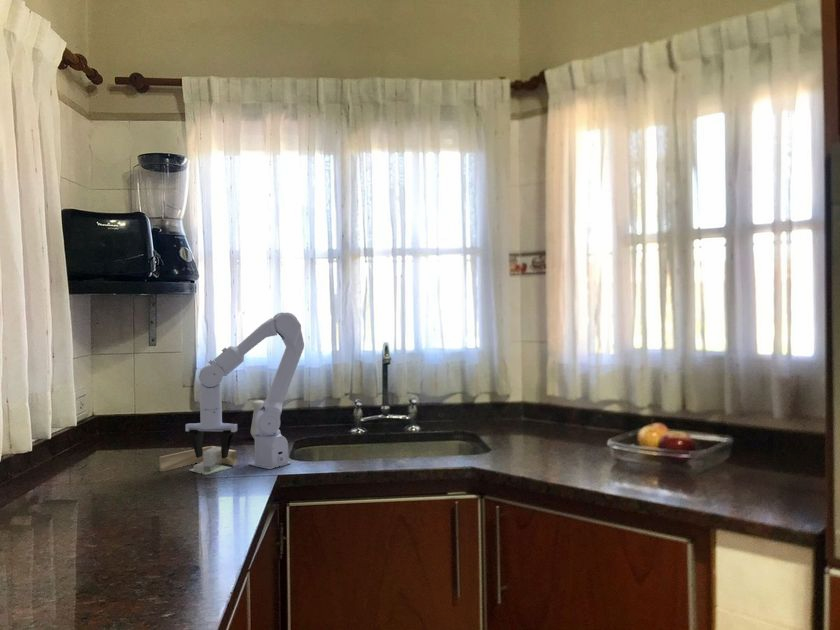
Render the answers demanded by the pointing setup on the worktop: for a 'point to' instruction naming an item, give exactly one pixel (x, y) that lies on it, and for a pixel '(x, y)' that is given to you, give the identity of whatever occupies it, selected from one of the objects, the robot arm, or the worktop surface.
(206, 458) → the bracket
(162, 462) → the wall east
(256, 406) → the salt shaker
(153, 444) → the worktop surface
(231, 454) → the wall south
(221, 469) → the pad
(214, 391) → the robot arm
